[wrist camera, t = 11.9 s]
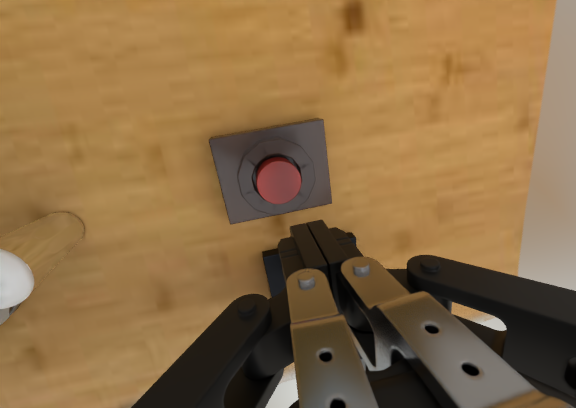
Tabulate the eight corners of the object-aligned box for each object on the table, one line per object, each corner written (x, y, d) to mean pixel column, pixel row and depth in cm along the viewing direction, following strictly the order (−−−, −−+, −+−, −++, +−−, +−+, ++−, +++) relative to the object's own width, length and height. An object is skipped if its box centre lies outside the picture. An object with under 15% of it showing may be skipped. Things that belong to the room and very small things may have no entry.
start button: (260, 201, 24) (261, 208, 23) (251, 161, 23) (252, 165, 21) (300, 193, 24) (304, 199, 23) (294, 153, 23) (298, 157, 22)
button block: (230, 217, 28) (229, 233, 24) (210, 137, 25) (205, 142, 21) (327, 198, 28) (338, 210, 25) (318, 118, 26) (329, 120, 22)
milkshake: (31, 249, 26) (-89, 331, 16) (41, 197, 24) (-85, 255, 15) (85, 262, 27) (2, 346, 17) (97, 213, 25) (14, 277, 16)
